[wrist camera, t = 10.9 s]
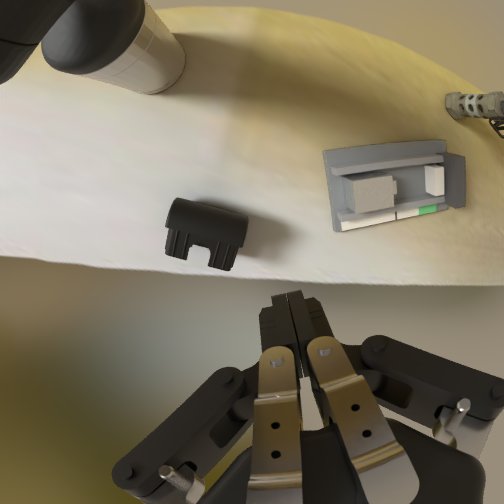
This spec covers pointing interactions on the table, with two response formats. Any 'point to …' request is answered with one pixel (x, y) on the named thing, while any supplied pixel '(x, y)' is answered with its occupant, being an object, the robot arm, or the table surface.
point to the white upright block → (434, 179)
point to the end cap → (205, 232)
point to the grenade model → (478, 107)
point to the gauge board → (403, 171)
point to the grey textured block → (369, 191)
